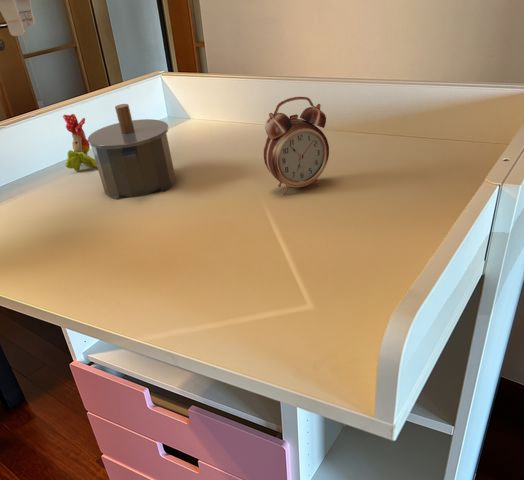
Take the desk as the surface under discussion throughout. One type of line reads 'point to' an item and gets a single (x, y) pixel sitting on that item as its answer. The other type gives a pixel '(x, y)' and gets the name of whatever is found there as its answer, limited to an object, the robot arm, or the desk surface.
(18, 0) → the robot arm
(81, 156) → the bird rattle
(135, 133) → the lid
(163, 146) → the pot
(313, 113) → the alarm clock
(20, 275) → the desk surface
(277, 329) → the desk surface
